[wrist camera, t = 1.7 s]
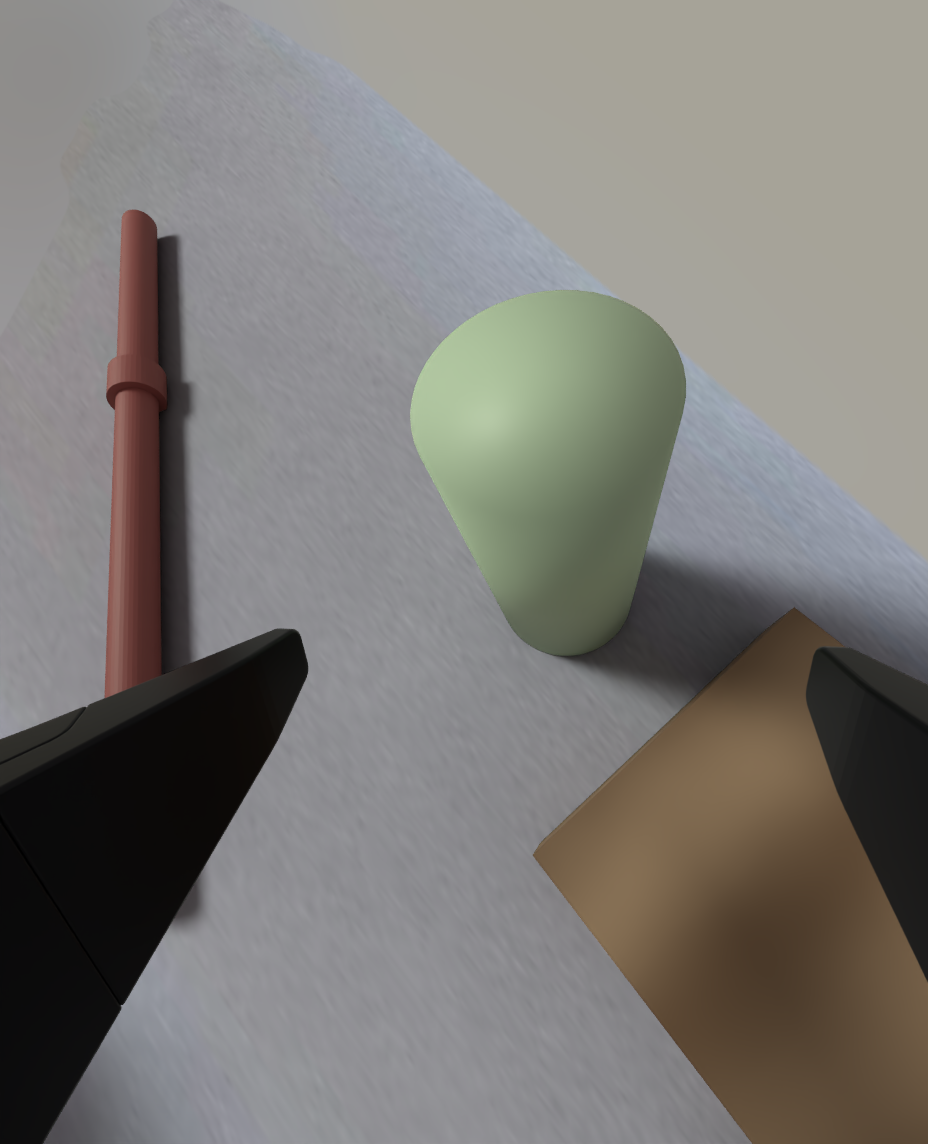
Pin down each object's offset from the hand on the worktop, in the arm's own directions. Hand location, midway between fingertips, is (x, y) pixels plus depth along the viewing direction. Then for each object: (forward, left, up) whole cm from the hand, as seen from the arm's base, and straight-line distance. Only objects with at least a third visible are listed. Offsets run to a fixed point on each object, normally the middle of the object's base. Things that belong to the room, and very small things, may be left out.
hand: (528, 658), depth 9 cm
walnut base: (-9, -2, -13) cm, 15 cm away
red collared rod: (+26, +8, -13) cm, 31 cm away
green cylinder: (+4, -4, -13) cm, 14 cm away
